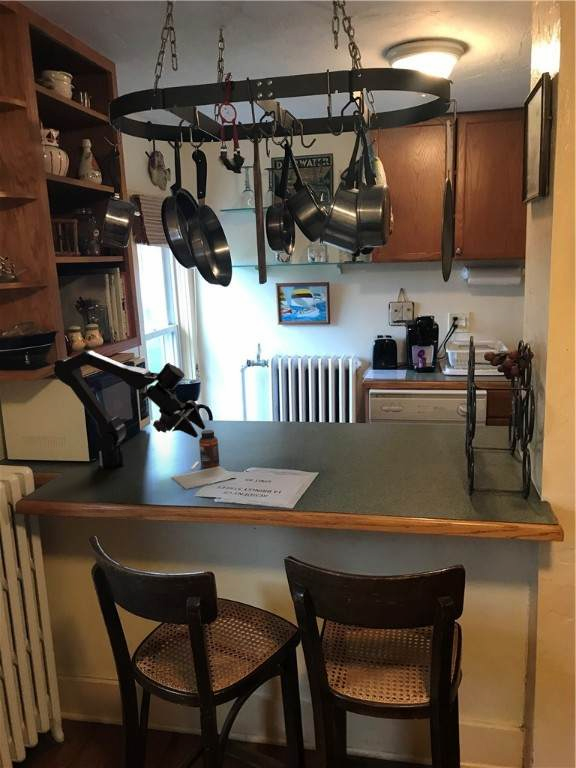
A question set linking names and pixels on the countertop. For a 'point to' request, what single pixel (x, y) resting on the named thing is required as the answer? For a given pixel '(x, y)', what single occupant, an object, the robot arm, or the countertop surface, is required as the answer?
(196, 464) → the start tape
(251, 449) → the countertop surface
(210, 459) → the supplement bottle
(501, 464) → the countertop surface
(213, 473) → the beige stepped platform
